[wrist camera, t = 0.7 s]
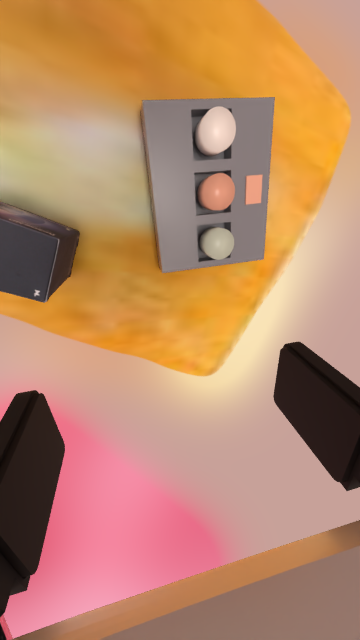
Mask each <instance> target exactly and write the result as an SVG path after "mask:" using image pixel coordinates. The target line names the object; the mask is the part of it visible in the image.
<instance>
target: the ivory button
mask: <svg viewBox="0 0 360 640" xmlns="http://www.w3.org/2000/svg"><path fill="white" fill-rule="evenodd" d="M235 133H236V124H235V120H234V117H233V115H232V114H231V112H230V111H229V110H228V109H226V108H224V107H220V106H218V107H214V108H212V109H210V110H209V111H208V112H207V113H206V114H205V116H204V117H203V118H202V119H201V120H200V121H199V123H198V124H197V127H196V130H195V143H196V146H197V148H198V149H199V151H200V152H201V153H202V154H204V155H206V156H215V155H217V154H219V153H220V152H222V151H224V150H225V149H227V148H228V147H229V146H230V145H231V144H232V142H233V140H234V137H235Z"/></svg>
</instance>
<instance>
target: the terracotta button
mask: <svg viewBox="0 0 360 640" xmlns="http://www.w3.org/2000/svg"><path fill="white" fill-rule="evenodd" d="M234 195H235V186H234V183H233V181H232V179H231V178H230V177H229V176H228V175H226V174H224V173H217V174H214V175H211V176H209V177H207V178H205V179H204V180H203V181H202V182H201V183H200V185H199V187H198V192H197V196H198V201H199V203H200V204H201V206H202V207H203V208H205V209H207V210H223V209H225V208H227V207H228V206H229V205H230V204H231V203H232V201H233V199H234Z"/></svg>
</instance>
